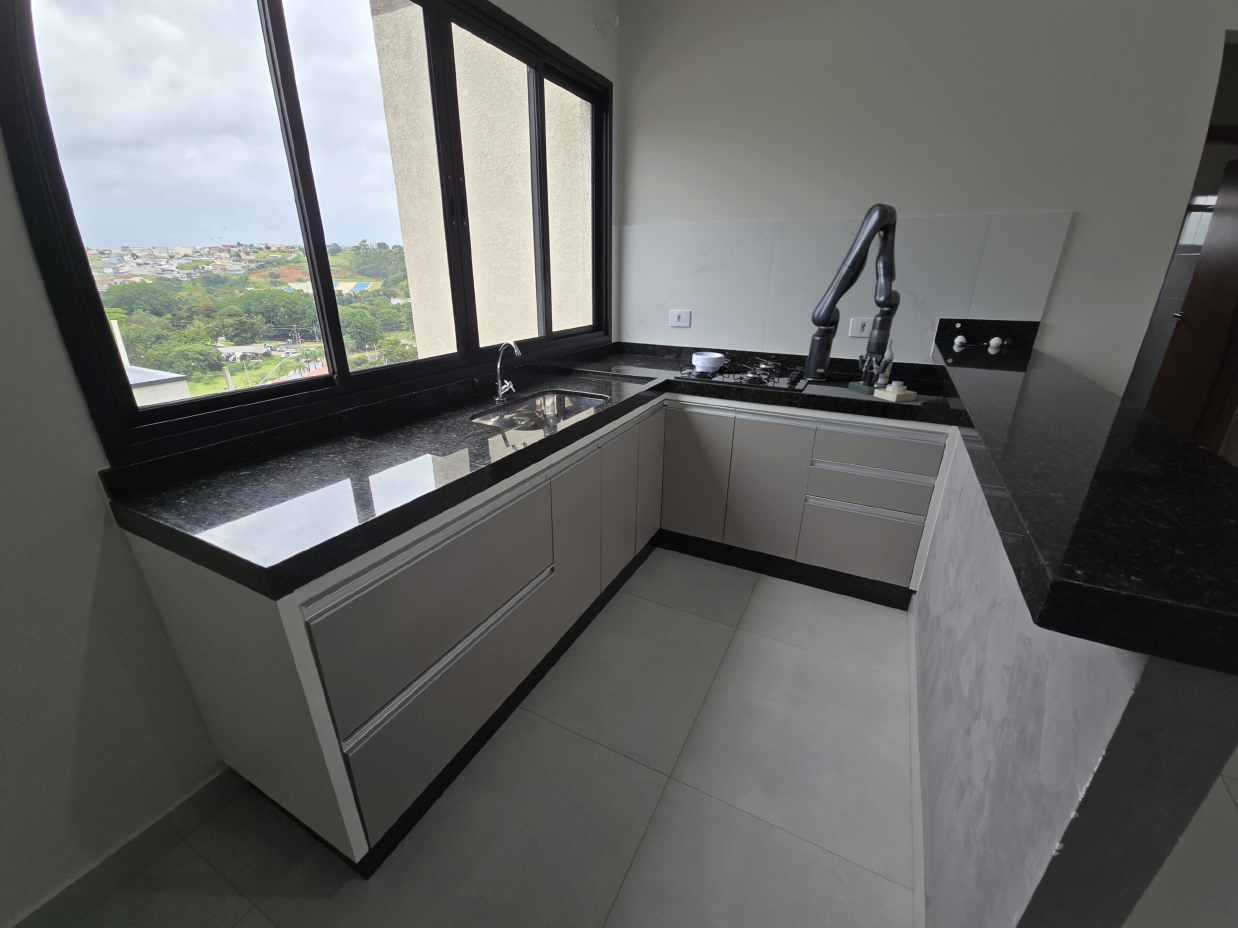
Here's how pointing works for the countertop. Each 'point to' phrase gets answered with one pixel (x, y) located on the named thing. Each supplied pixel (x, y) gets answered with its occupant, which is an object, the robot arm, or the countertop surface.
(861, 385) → the tap panel
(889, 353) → the bath foam
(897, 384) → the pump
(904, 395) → the cream push button box
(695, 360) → the paper bowls
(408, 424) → the countertop surface
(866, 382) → the dark brown cylinder
